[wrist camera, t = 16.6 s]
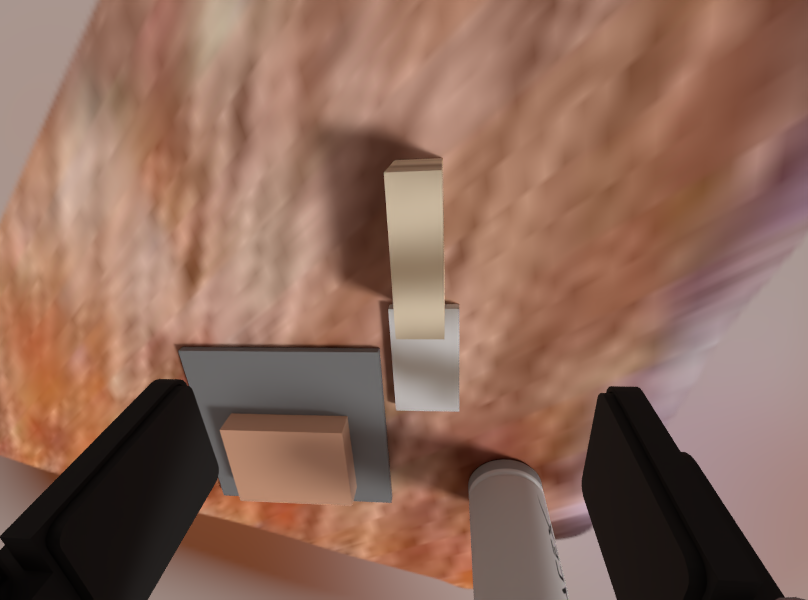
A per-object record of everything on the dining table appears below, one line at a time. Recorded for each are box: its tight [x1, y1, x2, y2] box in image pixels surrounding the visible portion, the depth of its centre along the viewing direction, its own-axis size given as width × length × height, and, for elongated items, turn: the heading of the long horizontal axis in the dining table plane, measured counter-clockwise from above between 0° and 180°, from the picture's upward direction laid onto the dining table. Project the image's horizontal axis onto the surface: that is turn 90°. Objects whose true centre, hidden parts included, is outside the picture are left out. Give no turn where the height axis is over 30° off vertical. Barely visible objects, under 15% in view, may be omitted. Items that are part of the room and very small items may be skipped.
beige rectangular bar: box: [384, 158, 459, 412], centre depth 28 cm, size 19×5×5 cm, turn 3°
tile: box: [220, 413, 357, 506], centre depth 36 cm, size 2×10×8 cm
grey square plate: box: [178, 347, 392, 503], centre depth 37 cm, size 16×16×1 cm
